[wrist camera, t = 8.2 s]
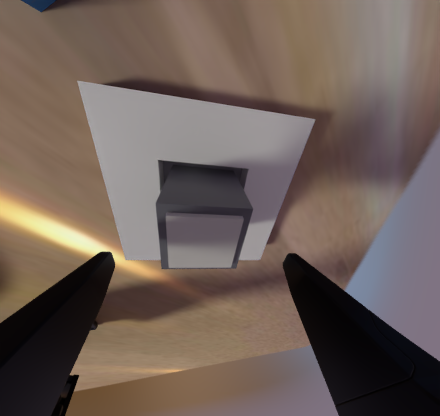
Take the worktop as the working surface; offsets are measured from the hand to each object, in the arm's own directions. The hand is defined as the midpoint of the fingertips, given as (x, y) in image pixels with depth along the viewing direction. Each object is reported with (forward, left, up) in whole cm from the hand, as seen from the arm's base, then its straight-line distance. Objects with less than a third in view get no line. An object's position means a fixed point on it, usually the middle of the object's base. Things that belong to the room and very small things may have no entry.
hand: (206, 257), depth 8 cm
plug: (0, 0, -7) cm, 7 cm away
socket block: (0, 0, -8) cm, 8 cm away
